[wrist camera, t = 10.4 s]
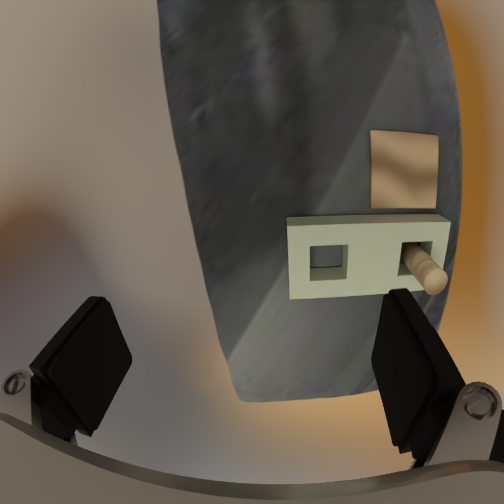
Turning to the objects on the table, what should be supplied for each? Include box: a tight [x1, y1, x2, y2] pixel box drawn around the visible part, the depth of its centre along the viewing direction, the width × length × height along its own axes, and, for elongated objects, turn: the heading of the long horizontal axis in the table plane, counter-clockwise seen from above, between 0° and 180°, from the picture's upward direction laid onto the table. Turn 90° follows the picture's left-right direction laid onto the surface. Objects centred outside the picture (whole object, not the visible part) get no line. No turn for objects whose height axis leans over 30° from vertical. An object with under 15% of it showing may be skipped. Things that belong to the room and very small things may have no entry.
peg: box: [400, 242, 448, 295], centre depth 32 cm, size 3×3×10 cm
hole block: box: [286, 214, 451, 299], centre depth 36 cm, size 10×22×4 cm, turn 95°
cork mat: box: [369, 130, 438, 208], centre depth 32 cm, size 10×10×1 cm
